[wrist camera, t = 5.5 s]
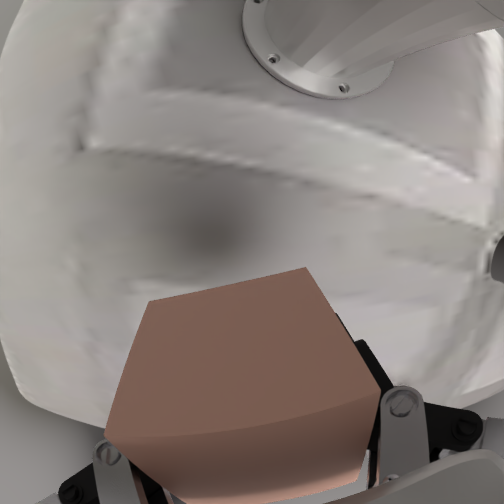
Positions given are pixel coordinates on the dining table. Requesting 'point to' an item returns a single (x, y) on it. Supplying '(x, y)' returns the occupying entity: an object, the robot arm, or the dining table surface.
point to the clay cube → (245, 394)
